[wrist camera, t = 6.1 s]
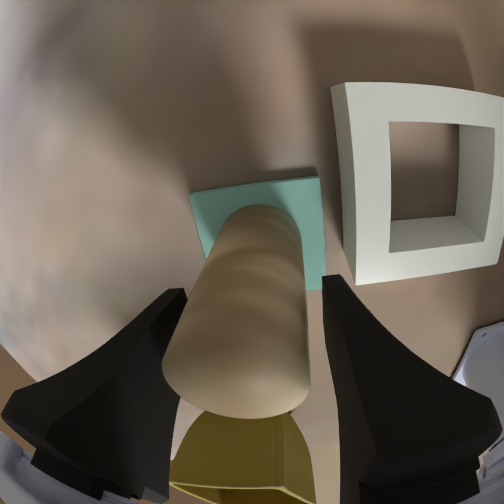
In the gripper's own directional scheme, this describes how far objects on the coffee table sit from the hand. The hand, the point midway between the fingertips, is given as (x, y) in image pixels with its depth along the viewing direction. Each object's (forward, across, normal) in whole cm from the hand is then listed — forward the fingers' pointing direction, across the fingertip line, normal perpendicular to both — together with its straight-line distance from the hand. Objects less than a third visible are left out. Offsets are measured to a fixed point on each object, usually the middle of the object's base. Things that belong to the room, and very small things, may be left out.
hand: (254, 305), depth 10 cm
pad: (+5, 0, 0) cm, 5 cm away
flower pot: (+5, +3, +16) cm, 17 cm away
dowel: (+4, 0, 0) cm, 5 cm away
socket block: (+5, -8, -3) cm, 10 cm away
